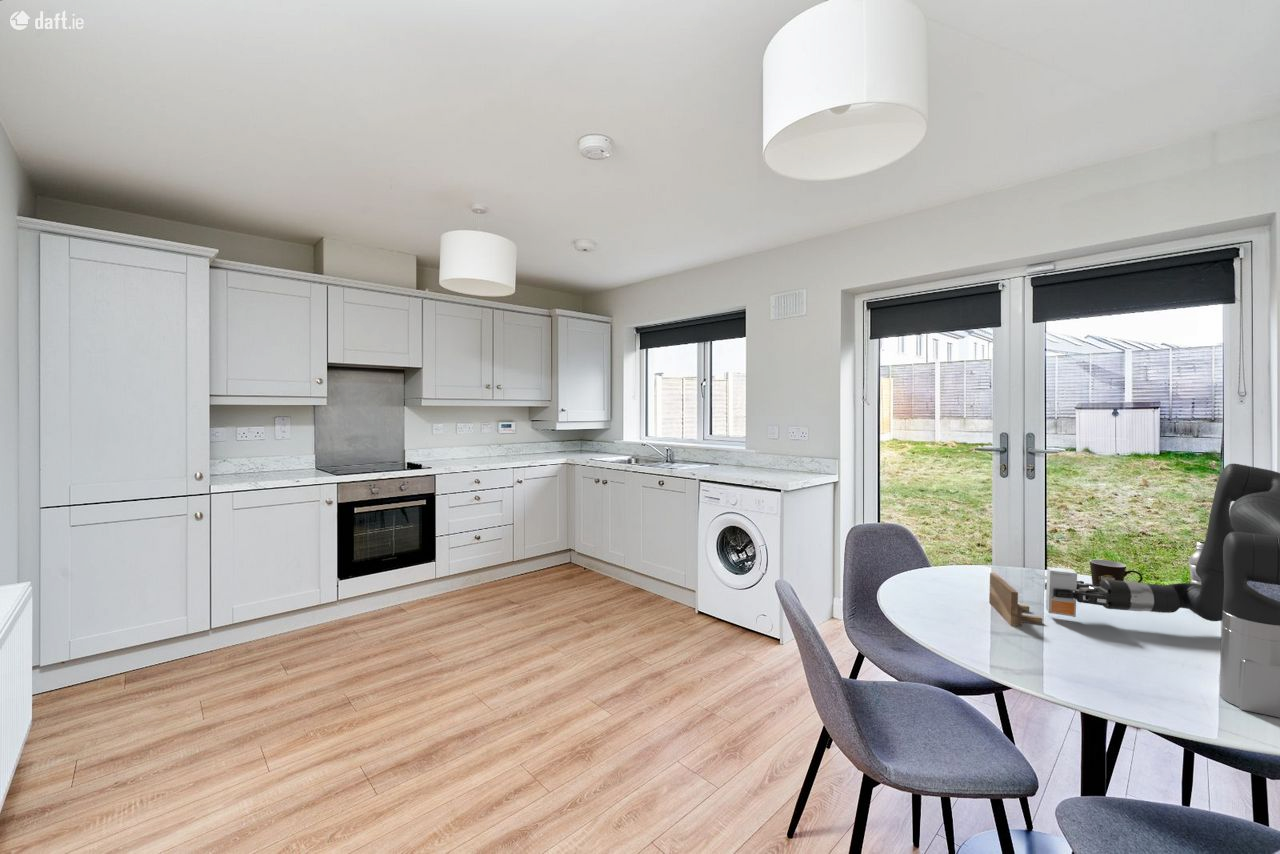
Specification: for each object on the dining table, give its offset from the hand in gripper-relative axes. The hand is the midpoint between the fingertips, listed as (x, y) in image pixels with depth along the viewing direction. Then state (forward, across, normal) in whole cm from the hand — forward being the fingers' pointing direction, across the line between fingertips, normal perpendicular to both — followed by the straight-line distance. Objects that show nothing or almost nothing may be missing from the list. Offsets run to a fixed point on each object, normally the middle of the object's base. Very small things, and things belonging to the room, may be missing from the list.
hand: (1049, 589), depth 149 cm
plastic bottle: (-43, -19, +9) cm, 48 cm away
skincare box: (-3, 0, +6) cm, 7 cm away
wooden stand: (+8, 0, +8) cm, 11 cm away
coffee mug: (-26, -27, +8) cm, 39 cm away
